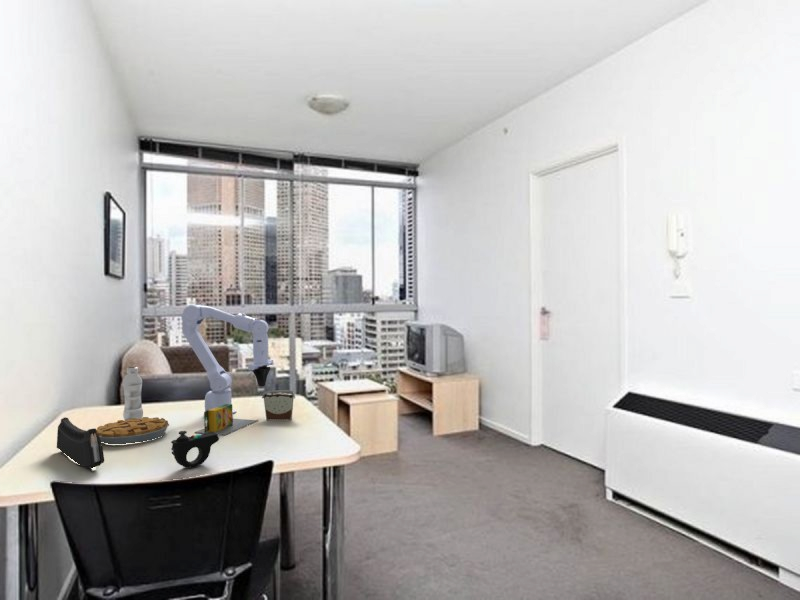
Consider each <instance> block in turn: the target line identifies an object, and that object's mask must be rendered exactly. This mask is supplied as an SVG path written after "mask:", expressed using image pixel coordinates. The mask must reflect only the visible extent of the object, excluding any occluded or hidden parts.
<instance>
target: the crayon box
mask: <svg viewBox="0 0 800 600" xmlns="http://www.w3.org/2000/svg"><path fill="white" fill-rule="evenodd" d="M232 411H233V404H225V405H222V406H219V407H216V408H213V409H210V410H208V411H205V410H204V411H203V417H204V419H203V421H204V425H203V426H204V427H203V429H204V433H206V432H217V431H219V430H222V429H224V428H226V427H229V426H231V425H233V419H234V417H233V414H234V413H233V412H232Z"/></svg>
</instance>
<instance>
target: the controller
mask: <svg viewBox="0 0 800 600" xmlns="http://www.w3.org/2000/svg"><path fill="white" fill-rule="evenodd" d="M187 433H188V432H187V430H181V431H179V432H178V433H177V434H178V435H179V436H178V437H177V438H176V439H173V440H172V441H170V443H171V444H172V445H171V448H170V449H171V454H172V456H173V457H174V460H175V461H176V463H177V464H178V465H180V466H181V467H183V468H188V469H194V468H197V467H199V466H201V465H203V463H205V462H206V461H207V459H208V458H209V457H210V453H211V449H212V448H211V447H212V446H213V445H215V444H216V443H218V442H219V440H220V438H219V435H217V434H216V433H214V432H211V433H206V434H197V435H193V434H192V435H191V436H187V435H186V434H187ZM194 448H196V449H198V454H197V456H196V458H195V459H194V460H191V461H189V460H188V459H187V457H188V456H187V455H188V453H189V452H190V451H191V450H192V449H194Z"/></svg>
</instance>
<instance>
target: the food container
mask: <svg viewBox="0 0 800 600" xmlns="http://www.w3.org/2000/svg"><path fill="white" fill-rule="evenodd" d="M261 399H263V405H264V410H265V420H266V421H292V419H293V410H294V409H293V408H294V400H295V399H296V395H295V392H294V391H293V390H290V389H282V390H281V389H278V390H275V389H274V390H270V391H265V392H263V393H262V396H261Z"/></svg>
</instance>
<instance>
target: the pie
mask: <svg viewBox="0 0 800 600" xmlns="http://www.w3.org/2000/svg"><path fill="white" fill-rule="evenodd" d="M169 426H170V424H169V421H168V420H166V418H164V417H161V418H159V417H148V416H145V417H144V416H143V417H142V418H141V419H135V418H133V419H129V420H124V419H119V420H117V421H116V422H109V423H106V424H104V425H99V426H98V427H97V428H96V432H97V435H98V436H99V437H100V439H101V442H104V443H108V444H126V443H135V442H143V441H147V440H151V441H153V440H152V439H155V438H157V439H159V438H158V437H160V438H162V437H163V436H164V435H165V433H166V431H167V428H169ZM163 434H164V435H163ZM161 436H162V437H161ZM155 440H156V439H155ZM147 442H148V441H147ZM143 443H144V442H143Z"/></svg>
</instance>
